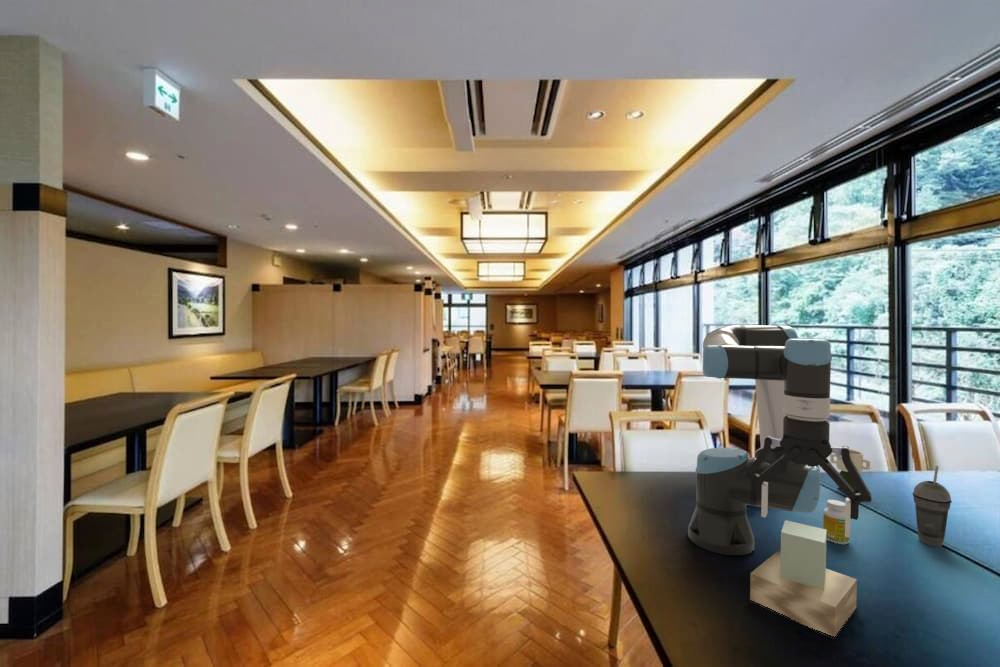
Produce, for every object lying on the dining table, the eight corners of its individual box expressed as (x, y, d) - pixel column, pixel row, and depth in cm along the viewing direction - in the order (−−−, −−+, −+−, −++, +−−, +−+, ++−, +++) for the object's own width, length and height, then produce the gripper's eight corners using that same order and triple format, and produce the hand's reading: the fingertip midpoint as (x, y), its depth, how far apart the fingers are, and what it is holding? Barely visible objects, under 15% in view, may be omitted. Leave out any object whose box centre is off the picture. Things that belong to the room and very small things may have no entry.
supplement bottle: (838, 546, 113) (838, 507, 112) (817, 536, 118) (818, 499, 118) (854, 543, 114) (855, 505, 114) (833, 534, 119) (834, 497, 119)
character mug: (872, 492, 150) (873, 453, 150) (866, 496, 146) (867, 457, 145) (832, 482, 159) (833, 446, 158) (826, 487, 154) (827, 449, 154)
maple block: (750, 602, 90) (750, 573, 90) (776, 578, 99) (777, 551, 99) (834, 641, 79) (835, 607, 79) (856, 609, 88) (856, 579, 88)
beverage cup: (930, 535, 119) (931, 460, 118) (959, 549, 111) (961, 469, 111) (903, 535, 118) (905, 460, 118) (931, 549, 111) (932, 469, 111)
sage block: (780, 577, 88) (781, 532, 88) (784, 562, 94) (785, 520, 94) (824, 590, 84) (825, 542, 84) (825, 574, 89) (826, 529, 89)
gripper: (731, 412, 93) (730, 513, 93) (891, 430, 77) (888, 552, 78) (739, 407, 99) (737, 502, 99) (888, 422, 83) (886, 536, 84)
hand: (804, 524), depth 89 cm, fingers open, 13 cm apart
